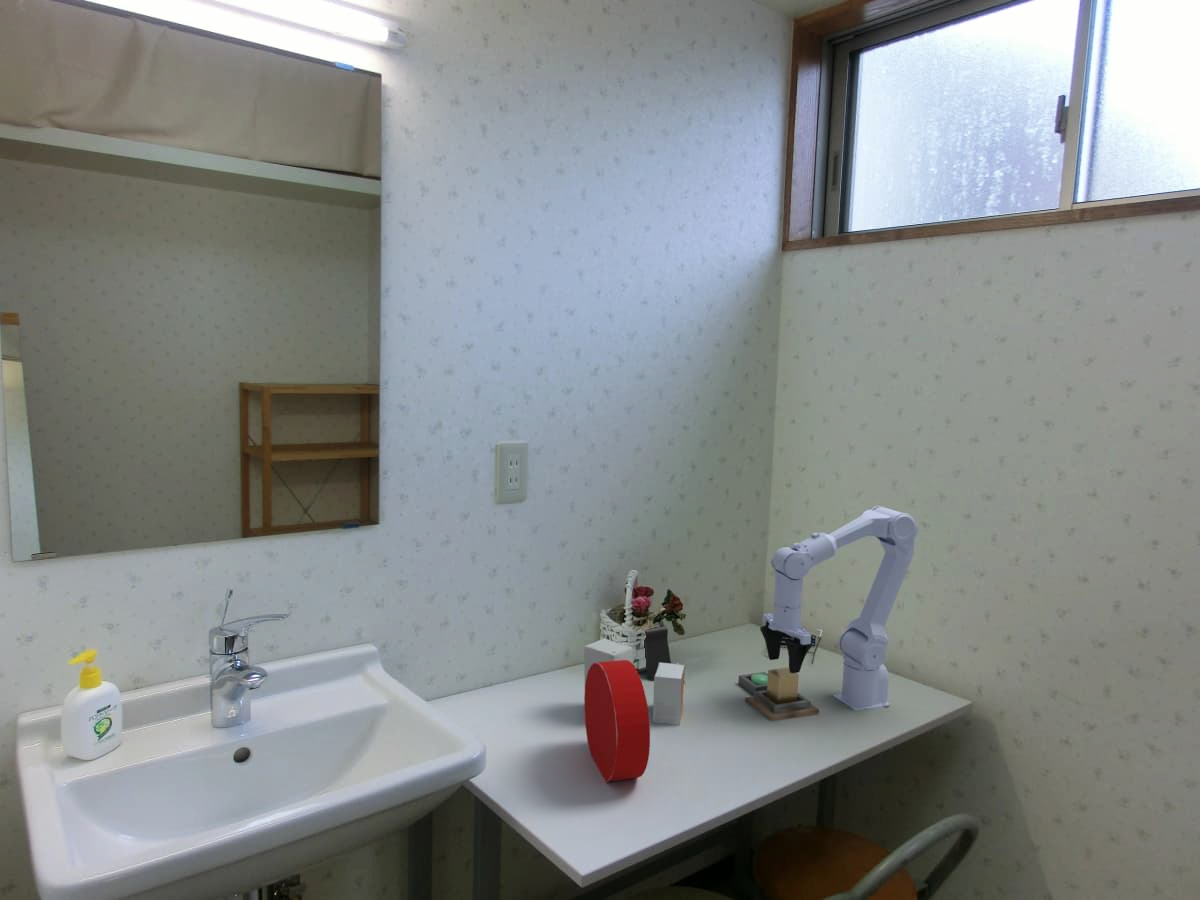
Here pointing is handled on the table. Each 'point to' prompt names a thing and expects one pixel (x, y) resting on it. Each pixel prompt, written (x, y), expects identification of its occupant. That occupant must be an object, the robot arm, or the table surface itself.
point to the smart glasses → (787, 637)
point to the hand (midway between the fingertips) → (783, 665)
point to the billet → (782, 686)
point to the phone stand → (656, 649)
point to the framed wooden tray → (781, 707)
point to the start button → (759, 679)
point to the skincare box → (606, 653)
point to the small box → (668, 693)
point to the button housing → (751, 683)
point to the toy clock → (617, 720)
